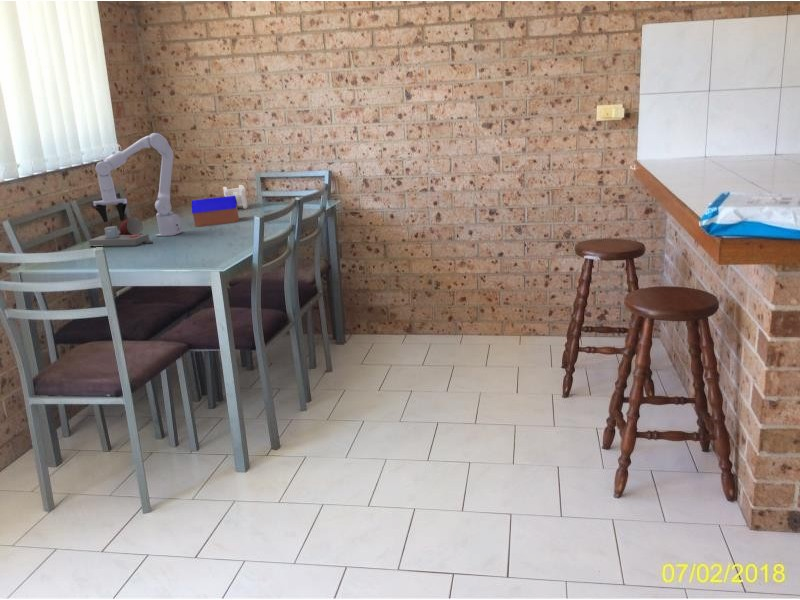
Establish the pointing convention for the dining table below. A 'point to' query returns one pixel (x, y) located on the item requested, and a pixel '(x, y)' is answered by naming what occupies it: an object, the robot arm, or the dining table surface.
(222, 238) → the dining table surface
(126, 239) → the power strip
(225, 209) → the blue-topped brown box
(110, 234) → the block
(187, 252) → the dining table surface
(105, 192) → the robot arm
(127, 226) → the mug
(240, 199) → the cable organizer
